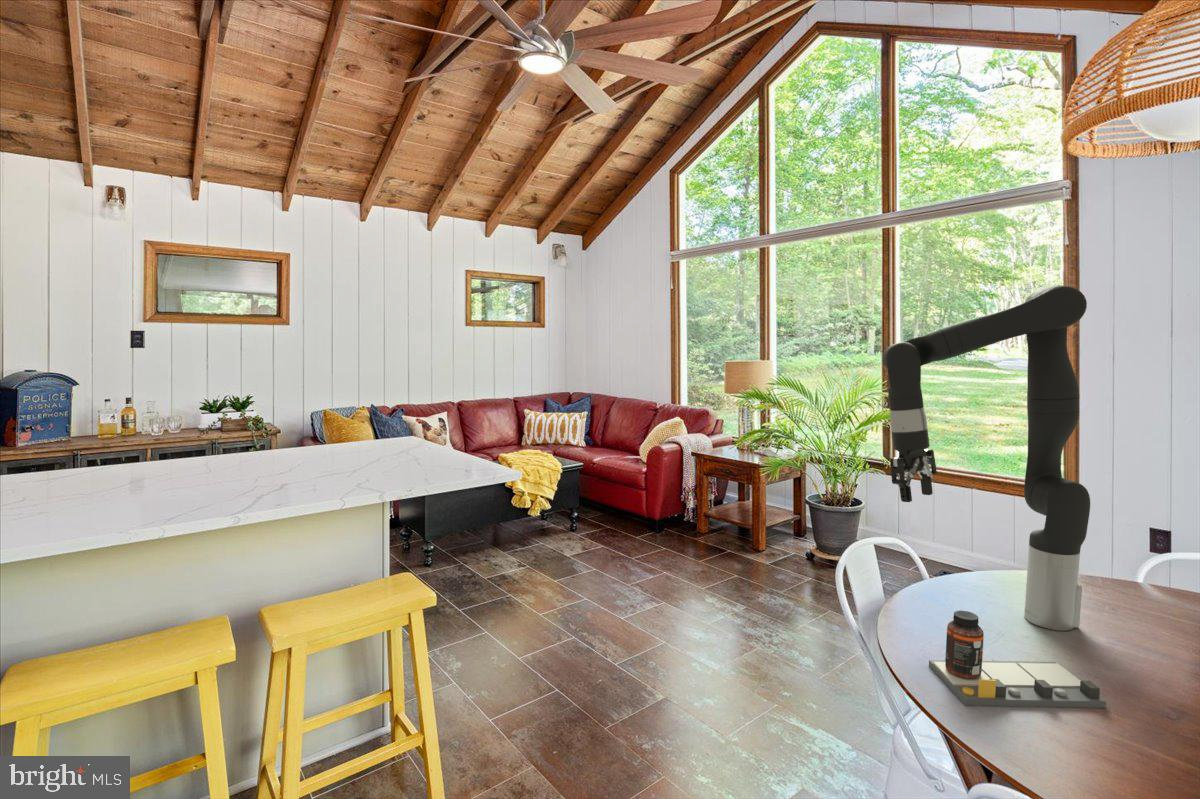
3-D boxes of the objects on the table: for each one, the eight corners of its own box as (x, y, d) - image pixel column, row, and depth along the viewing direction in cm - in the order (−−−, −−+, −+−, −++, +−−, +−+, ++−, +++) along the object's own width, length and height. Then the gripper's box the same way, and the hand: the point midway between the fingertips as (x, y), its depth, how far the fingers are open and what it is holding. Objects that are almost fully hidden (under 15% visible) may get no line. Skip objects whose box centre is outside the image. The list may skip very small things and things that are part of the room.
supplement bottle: (986, 682, 112) (990, 623, 111) (951, 678, 113) (954, 620, 112) (974, 665, 118) (977, 609, 117) (940, 662, 119) (943, 606, 118)
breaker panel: (1054, 667, 120) (1055, 646, 119) (1105, 707, 107) (1107, 684, 106) (928, 665, 121) (929, 644, 120) (965, 705, 108) (966, 681, 107)
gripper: (907, 432, 134) (915, 505, 134) (942, 424, 141) (950, 493, 142) (875, 433, 140) (884, 503, 140) (910, 424, 148) (918, 491, 148)
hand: (917, 498), depth 141 cm, fingers open, 8 cm apart
